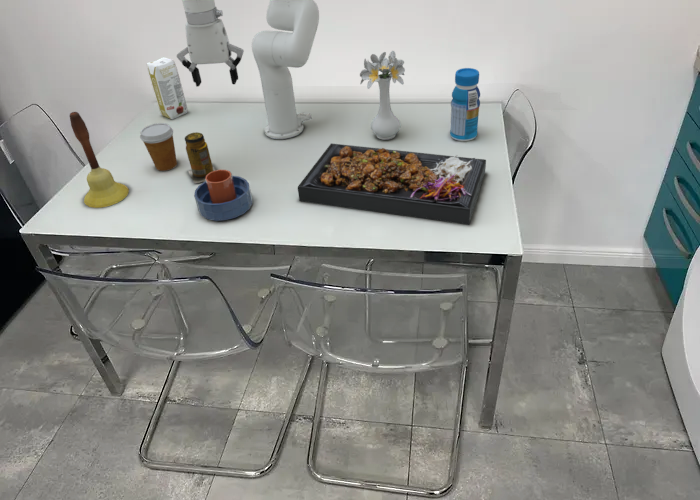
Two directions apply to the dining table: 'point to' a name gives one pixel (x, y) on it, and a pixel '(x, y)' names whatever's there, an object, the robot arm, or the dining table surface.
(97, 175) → the handbell
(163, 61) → the juice carton
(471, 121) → the beverage bottle
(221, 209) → the bowl
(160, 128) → the disposable coffee cup
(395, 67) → the flower vase
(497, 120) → the dining table surface
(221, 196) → the cup
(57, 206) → the dining table surface
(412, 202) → the food platter
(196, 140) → the condiment
